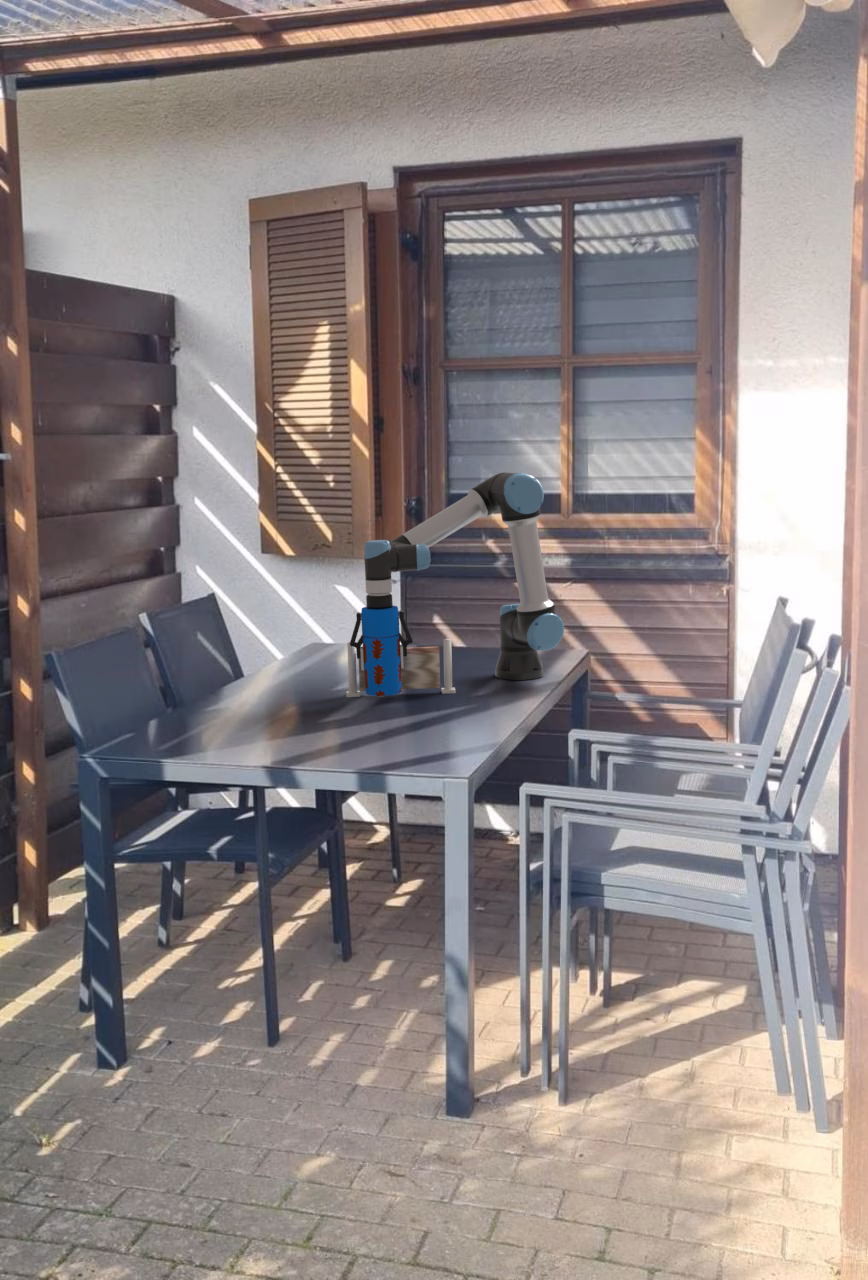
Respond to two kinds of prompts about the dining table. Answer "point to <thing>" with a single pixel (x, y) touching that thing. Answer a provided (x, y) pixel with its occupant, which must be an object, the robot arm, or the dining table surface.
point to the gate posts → (447, 670)
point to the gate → (416, 669)
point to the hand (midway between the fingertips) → (382, 668)
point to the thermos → (381, 651)
